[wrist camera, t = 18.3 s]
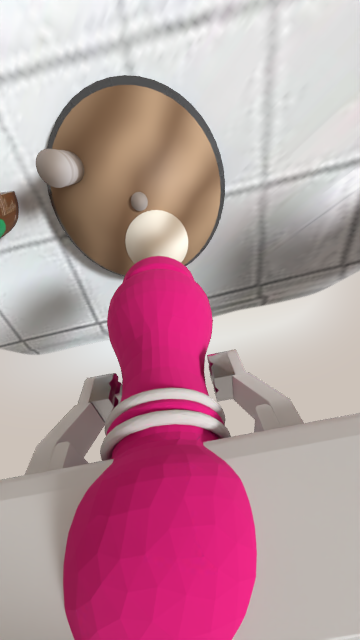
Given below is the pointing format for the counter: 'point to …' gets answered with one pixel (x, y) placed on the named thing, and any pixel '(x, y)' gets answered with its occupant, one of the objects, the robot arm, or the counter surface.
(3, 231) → the food container
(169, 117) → the turntable
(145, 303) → the pepper mill
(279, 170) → the counter surface
